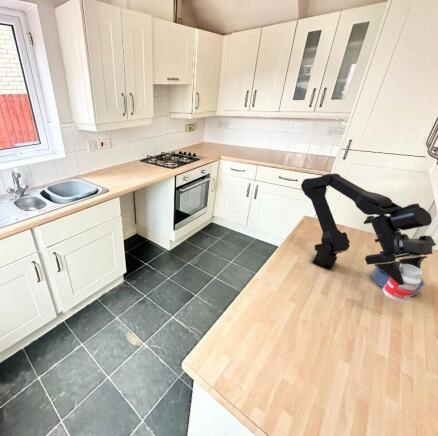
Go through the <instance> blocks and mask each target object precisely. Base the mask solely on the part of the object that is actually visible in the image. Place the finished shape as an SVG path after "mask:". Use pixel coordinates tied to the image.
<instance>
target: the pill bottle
mask: <svg viewBox="0 0 438 436" xmlns="http://www.w3.org/2000/svg"><path fill="white" fill-rule="evenodd" d="M400 266H401V267H400V272H401V275H402V278H403V282H404V285H399V284H398V283H397V282H396V281H394V280H393V279H392V278H391V277H390V278H389V280H388V281H387V283H386V284H385V286H384V288H383V287H382V292H383V294H384V295H385V296H387V297H388V298H390V299H392V300H394V301H397V302H401V303H405V302H407V301H409V300H410V298H411V297H412V296H411V295H412V294H413V292H414V291H415V290H416V288H417V287H418V286H419V284H420V283H421V278H422V275H423V274H424V271H423V270H422V269H421V268H420V269H419V268H418V267H416V266H413V265H410V264H403V265H402V264H401V265H400ZM420 277H421V278H420Z"/></svg>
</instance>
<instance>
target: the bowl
mask: <svg viewBox="0 0 438 436" xmlns="http://www.w3.org/2000/svg"><path fill="white" fill-rule="evenodd" d="M401 266H402V265H400V266H399V269H400V267H401ZM370 276H371V279H372V280H373V282H374V283H375V284H377V286H379V287H381V288H382V289H383V288H384V286H385V284H386V283H387V281H388V280H389V278H390V276H389V275H388V274H387V273H385V272H384V271H383V270H382V269H380V268H379V267H378V266H375V267H374V269H373V270H372V272H371V274H370ZM420 278H421V283H420V284H419V286H418V287H417V288H416V290H415V291H414V292H413V294H412V295H411V297H414V296H417V295H419V293H420V291H421V290H422V289H423V287H424V286H425V281H424V280H423V278H422V276H421V277H420Z"/></svg>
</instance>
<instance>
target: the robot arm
mask: <svg viewBox="0 0 438 436" xmlns="http://www.w3.org/2000/svg"><path fill="white" fill-rule="evenodd" d="M328 187H331V188H332V189H334V190H336V191H337V192H339V193H340V194H342V195H344V196H345V197H347V198H348V199H350V200H351V201H352V202H354V204H355V206H356V208H357V209H358V210H359V211H360V212H362V213H363V214H364V215H367V216H366V218H365V220H364V221H363V225H369V224H371V226H372V228H373V230H374V233H375V235H376V238H375V239H374V243H379V244H380V247H381V251H379V253H373V254H368V255H367V254H366V255H365V257H364V260H365V262H366V265H367V266H368V265H374V266H375V267H376V266H378V267H379V268H380V269H382V270H383V271H384V272H385V273H387V274H388V275H389V276H390V277H391V278H392V279H393V280H394V281H396V282H397V283H398V284H399V285H404V282H403V278H402V275H401V272H400V269H399V266H402V265H403V264H410V265H413V266H416V267H418V268H419V269H421V265H422V262H423V261H424V260H425V259H426V258H428V256H427V255H433V254H434V253H433V247H435V246H436V245H437V244H436V242H435V240H434V239H433V237H432V236H431V235H420V236H419V237H418V238H417V237H416V238H410V237H409V235H408V234H406V233H402V232H401V231H408V230H413V229H417V228H423V227H429V226H430V225H431V224H432V221H433V219H432V214H431V213H430V212H428V210H427V209H425V208H424V207H422V206H420V204H419V203H412V204H409V205H406V206H404V207H402V206H401V205H399V204H396V203H395V202H394V201H393V200H392V199H391V198H390V197H388V196H386V195H383V194H380V193H377V192H373V191H369V190H366V189H364V188H363V187H360V186H358V185H357V184H355V183H353V182H351V181H350V180H348V179H346V178H344V177H343V176H341V174H339V173H336V172H333V173H326V174H325V175H322V176H318V177H309V178H305V179H303V180H302V182H301V184H300V188H301V190H302V192H303V194H304V195H305V196H306V197H307V198H308V199H309V200H310V201H311V203H312V206H313V209H314V212H315V214H316V217H317V220H318V223H319V226H320V228H321V231H322V234H321V238H320V241H321V243H317V244H315V245H314V251H316V253H315V256H314V258H313V260H312V262H311V263H312V264H314V265H315V266H317V267H322V268H323V269H325V270H328V271H330V270H331V269H332V268H333V267H334V266H335V264H336V262H337V259H338V257H339V256H337V255H338V254H342V253H343V252H344V253H345V252H347V251H348V250H349V248H350V246H351V245H350V243H351V241H350V239H349V238H348V234H347V232H346V231H344V232H341V230H339V229H338V227H337V223H336V221H335V219H334V215H333V213H332V211H331V208H330V206H329V203H328V200H327V198H326V194H327V191H328V189H327V188H328ZM374 215H376V216H374ZM388 215H389V216H388ZM423 255H424V256H423ZM397 259H398V261H397Z"/></svg>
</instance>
